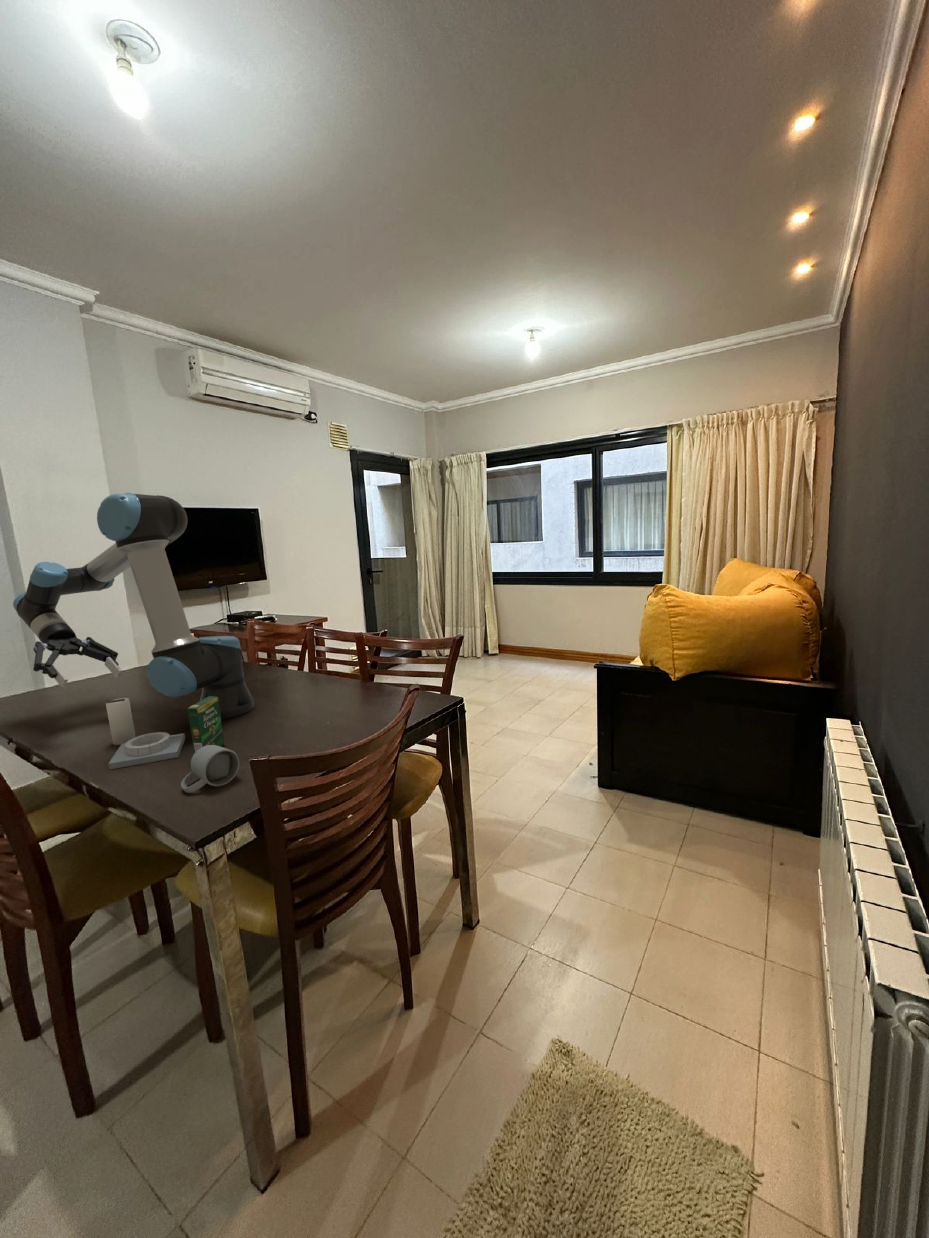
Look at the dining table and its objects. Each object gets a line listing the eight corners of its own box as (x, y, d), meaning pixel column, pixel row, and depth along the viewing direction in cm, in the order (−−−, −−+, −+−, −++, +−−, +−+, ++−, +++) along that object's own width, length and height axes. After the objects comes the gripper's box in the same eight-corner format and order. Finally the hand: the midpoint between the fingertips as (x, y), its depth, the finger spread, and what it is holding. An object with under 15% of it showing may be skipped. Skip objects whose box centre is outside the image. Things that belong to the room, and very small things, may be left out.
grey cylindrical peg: (137, 735, 133) (130, 695, 131) (133, 742, 129) (126, 701, 127) (115, 739, 132) (108, 698, 130) (110, 746, 127) (103, 704, 125)
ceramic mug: (223, 767, 113) (218, 736, 112) (242, 776, 108) (237, 744, 107) (174, 788, 105) (168, 755, 103) (193, 799, 100) (187, 765, 99)
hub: (185, 738, 130) (183, 726, 130) (178, 757, 119) (176, 743, 119) (122, 748, 125) (120, 736, 124) (109, 769, 114) (106, 755, 113)
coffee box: (204, 759, 118) (197, 707, 115) (193, 759, 118) (186, 707, 116) (225, 744, 125) (219, 695, 123) (215, 744, 126) (208, 695, 123)
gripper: (97, 638, 153) (135, 681, 147) (-6, 647, 130) (34, 699, 124) (104, 618, 151) (143, 661, 145) (2, 625, 128) (43, 676, 122)
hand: (93, 679), depth 134 cm, fingers open, 13 cm apart
